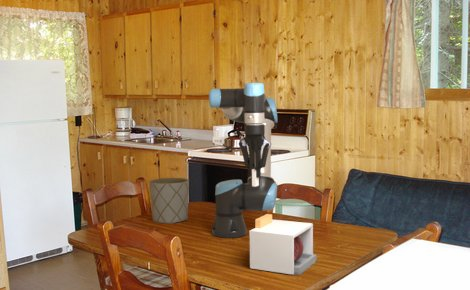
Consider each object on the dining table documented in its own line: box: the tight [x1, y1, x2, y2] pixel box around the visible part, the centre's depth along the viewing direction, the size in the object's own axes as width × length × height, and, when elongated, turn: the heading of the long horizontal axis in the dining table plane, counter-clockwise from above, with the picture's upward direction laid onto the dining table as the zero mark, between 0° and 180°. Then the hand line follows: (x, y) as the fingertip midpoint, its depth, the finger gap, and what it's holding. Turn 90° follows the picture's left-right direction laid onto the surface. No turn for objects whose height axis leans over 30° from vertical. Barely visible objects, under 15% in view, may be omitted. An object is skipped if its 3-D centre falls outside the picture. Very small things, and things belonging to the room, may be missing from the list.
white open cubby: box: [249, 213, 314, 276], centre depth 190 cm, size 16×19×16 cm
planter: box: [148, 177, 190, 225], centre depth 262 cm, size 19×19×20 cm
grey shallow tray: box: [293, 253, 318, 276], centre depth 190 cm, size 15×17×2 cm
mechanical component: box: [294, 236, 304, 262], centre depth 189 cm, size 12×10×10 cm
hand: (255, 185), depth 205 cm, fingers closed
